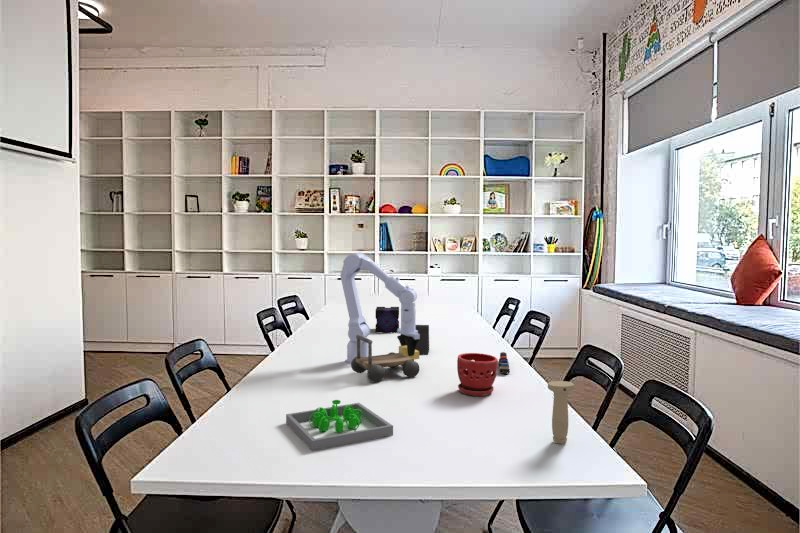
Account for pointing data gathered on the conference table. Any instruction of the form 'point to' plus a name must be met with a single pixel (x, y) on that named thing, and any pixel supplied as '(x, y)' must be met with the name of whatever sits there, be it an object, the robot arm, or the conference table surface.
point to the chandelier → (336, 417)
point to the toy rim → (340, 439)
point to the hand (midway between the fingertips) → (408, 354)
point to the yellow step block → (404, 351)
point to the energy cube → (387, 319)
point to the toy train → (504, 363)
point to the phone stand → (423, 339)
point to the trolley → (382, 363)
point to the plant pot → (476, 373)
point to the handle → (560, 409)
